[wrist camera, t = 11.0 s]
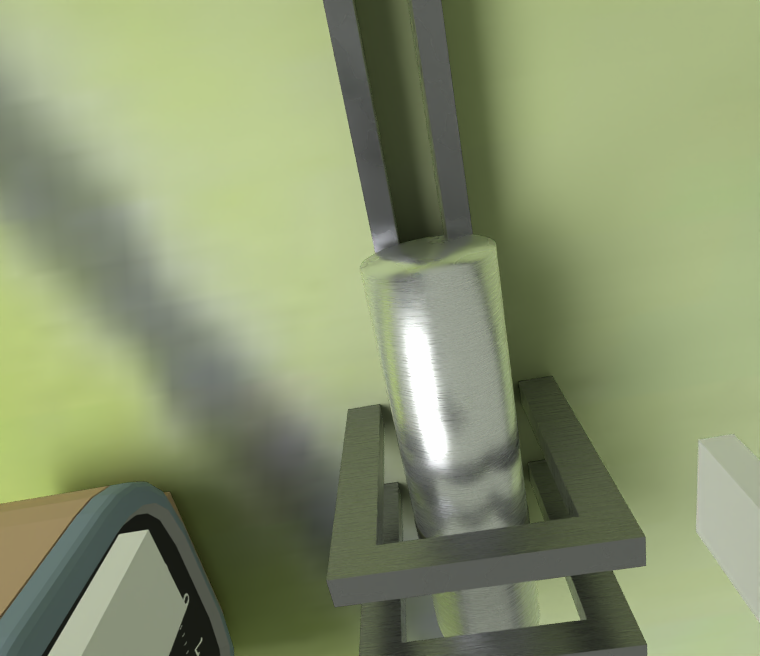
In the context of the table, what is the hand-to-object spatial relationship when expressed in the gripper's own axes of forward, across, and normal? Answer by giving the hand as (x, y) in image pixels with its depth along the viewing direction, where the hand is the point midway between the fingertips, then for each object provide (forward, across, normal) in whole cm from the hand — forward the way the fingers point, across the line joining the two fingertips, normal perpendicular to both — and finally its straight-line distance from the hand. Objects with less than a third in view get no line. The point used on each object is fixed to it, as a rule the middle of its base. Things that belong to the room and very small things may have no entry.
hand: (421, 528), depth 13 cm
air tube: (+16, +1, -8) cm, 18 cm away
